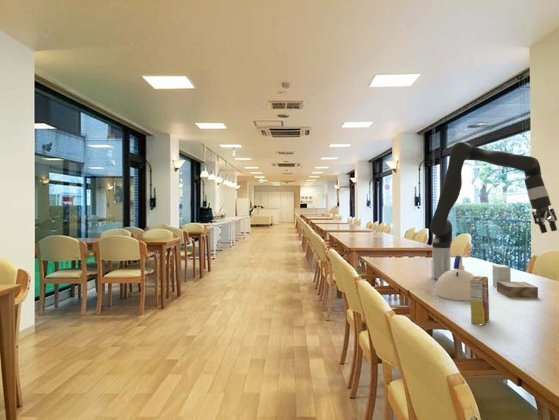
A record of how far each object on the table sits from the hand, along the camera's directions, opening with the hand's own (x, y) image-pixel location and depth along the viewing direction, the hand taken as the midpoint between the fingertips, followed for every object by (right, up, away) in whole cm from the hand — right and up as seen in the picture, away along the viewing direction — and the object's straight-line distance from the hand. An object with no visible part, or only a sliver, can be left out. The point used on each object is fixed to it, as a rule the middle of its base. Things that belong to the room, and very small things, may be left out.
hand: (549, 231), depth 174 cm
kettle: (-42, -29, -1) cm, 51 cm away
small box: (-13, -28, +15) cm, 35 cm away
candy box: (-53, -29, -40) cm, 72 cm away
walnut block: (-15, -29, -1) cm, 33 cm away
